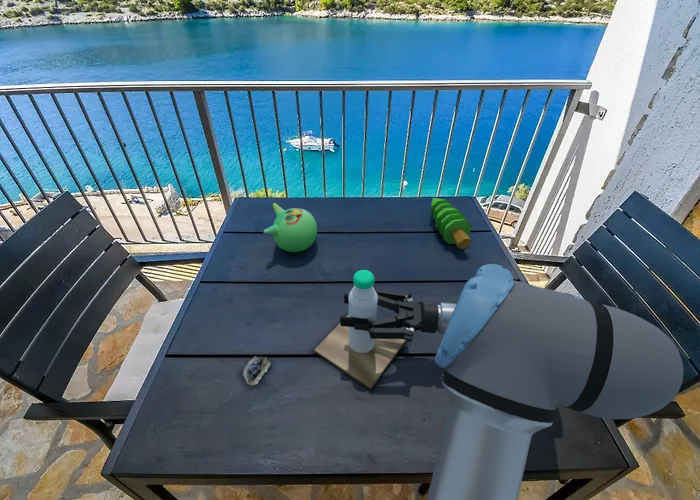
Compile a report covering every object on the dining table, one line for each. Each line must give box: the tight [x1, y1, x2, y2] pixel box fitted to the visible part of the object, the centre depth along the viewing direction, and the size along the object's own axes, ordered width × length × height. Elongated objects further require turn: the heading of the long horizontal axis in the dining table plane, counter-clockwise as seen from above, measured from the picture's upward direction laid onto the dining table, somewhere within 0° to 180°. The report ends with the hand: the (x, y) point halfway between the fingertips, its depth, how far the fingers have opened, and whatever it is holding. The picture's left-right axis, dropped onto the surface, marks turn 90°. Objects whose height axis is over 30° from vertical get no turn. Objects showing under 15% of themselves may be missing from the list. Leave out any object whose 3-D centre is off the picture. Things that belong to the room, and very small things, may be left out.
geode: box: [242, 355, 272, 387], centre depth 88 cm, size 7×8×2 cm
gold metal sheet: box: [313, 314, 407, 390], centre depth 94 cm, size 18×18×1 cm
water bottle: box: [347, 269, 378, 353], centre depth 86 cm, size 7×7×25 cm
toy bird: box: [263, 202, 318, 253], centre depth 124 cm, size 18×17×15 cm
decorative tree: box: [429, 197, 472, 250], centre depth 133 cm, size 11×12×30 cm
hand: (342, 309), depth 86 cm, fingers closed on water bottle, 7 cm apart
